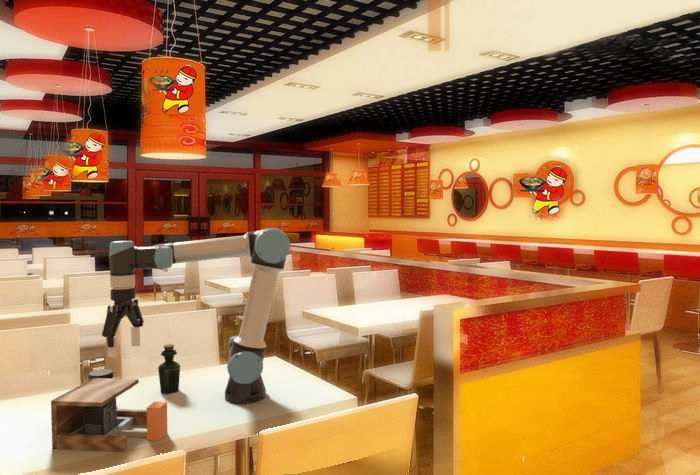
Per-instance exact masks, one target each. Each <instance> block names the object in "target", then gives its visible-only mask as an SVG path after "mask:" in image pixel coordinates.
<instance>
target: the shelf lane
mask: <svg viewBox="0 0 700 475" xmlns="http://www.w3.org/2000/svg"><path fill="white" fill-rule="evenodd" d="M139 381H140V380H139V378H137V379H136V378H115V379H110V378H93V379H91V380H89V381H88V380H87V381H86V382H84V383H82V384H79V385H78V386H75V388H73V389H70V390H69V391H67V392H65V393H63V394H61V395H59V396H57V397H56V398H54V399H52V400H51V401H50V406H51V407H50V412H51V413H50V414H51V415H50V418H51V448H52V450H72V451H73V450H74V451H91V452H92V451H94V452H95V451H96V452H114V453H115V452H116V453H117V452H118V453H119V452H121V453H122V452H123V453H125V452H126V451H127V450H128V436H113V435H88V434H70V433H71V432H73V431H74V430H76V429H77V428H79V427H80V426H82V425H83V409H84V408H85V407H86V406H95V407H102V406H104V405H105V404H107V403H108V402H110V401H111V400H113V399H114V398H116V399H117V397H119V396H121V395H122V394H124V393H126V392H127V391H129V390H130V389H132V388H133V387H135V386H136V385H138V384H139ZM116 413H117V416H120V417H134V425H135V424H137V425H139V424H141V425H142V424H143V425H147V409H128V408H127V409H125V408H116Z"/></svg>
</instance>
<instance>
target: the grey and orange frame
mask: <svg viewBox="0 0 700 475" xmlns="http://www.w3.org/2000/svg"><path fill="white" fill-rule="evenodd" d="M146 410H147V424H146V430H136V429H130V428H132V427H133V426H134V425H135V423H134V417H120V416H117V426H116V427H115V428H114V429H112V430H111V431H110V432H108V433H107V434H106V435H113V436H127V438H128V437H130V438H131V437H132V438H147V439H146V440H147V441H157V440H158V441H161V440H162V439H163V438H164V437H166V436H167V435H168V402H167V401H153V402H152V403H151V404H150V405H148V406H147V407H146ZM70 434H84V425H82V426H80V427H79V428H77V429H76V430H74V431H73V432H71V433H70ZM158 441H157V442H158Z"/></svg>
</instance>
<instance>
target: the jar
mask: <svg viewBox="0 0 700 475" xmlns="http://www.w3.org/2000/svg"><path fill="white" fill-rule="evenodd" d="M87 375H88V378H87V381H89V380H91V379H93V378H110V379H116V378H115V376H114V370H113V369H111V368H103V369H96V370H92V371H90V372H88V374H87Z"/></svg>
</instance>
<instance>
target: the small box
mask: <svg viewBox="0 0 700 475" xmlns="http://www.w3.org/2000/svg"><path fill="white" fill-rule="evenodd" d="M116 409H117V397H116V398H114V399H113V400H111V401H110V402H108V403H107V404H105V405H104V406H102V407H95V406H86V407H85V408H84V409H83V425H84V434H88V435H106V434H107V433H108V432H110V431H111V430H112V429H114V428H115V427H116V426H117V413H116Z"/></svg>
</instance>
